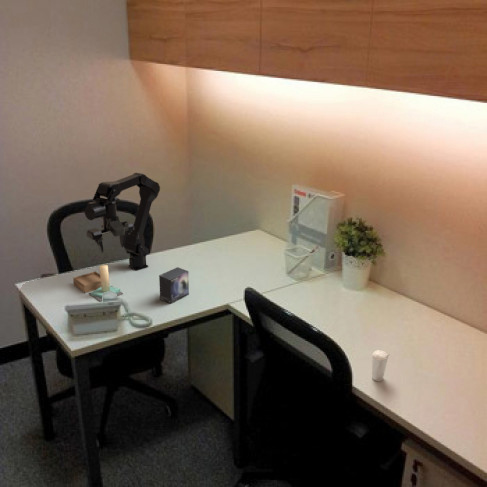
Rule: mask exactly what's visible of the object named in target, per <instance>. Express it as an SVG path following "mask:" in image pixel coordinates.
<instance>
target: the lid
mask: <svg viewBox="0 0 487 487" xmlns="http://www.w3.org/2000/svg"><path fill="white" fill-rule="evenodd" d="M99 274H100V278H101V287H100V288H98V289H97V290H94V291H91V292H92V293H91V295H90V296H92V295H93V296H97V297H101V298H102V294H103V293H104V292H107V291H112V292H115V293H116V294H117V293H118V292H121V288H119V287H115V286H113V287H111V286H112V285H110V276H109V266H108V264H101V265H99ZM93 296H92V297H93Z"/></svg>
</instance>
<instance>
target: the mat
mask: <svg viewBox="0 0 487 487" xmlns="http://www.w3.org/2000/svg"><path fill="white" fill-rule="evenodd" d="M110 286H111V287H114V286H113V285H110ZM92 292H93V291H91V292H88V293H89V295H90V296H91V297H92V298H94V299H96V300H97V301H98V302H103V301H102V298H101V297H97V296H93V295H91V293H92ZM123 294H124V293H123V292H122V291H120V292H118V293H117V296H116V297H118V296H119V297H120V296H122V295H123Z"/></svg>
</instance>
